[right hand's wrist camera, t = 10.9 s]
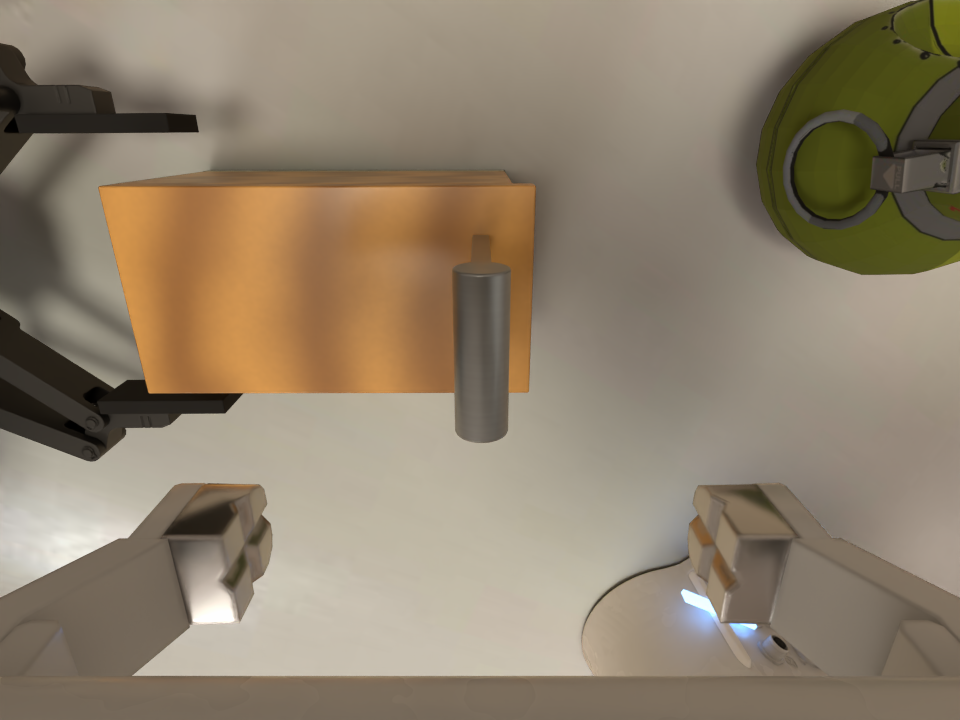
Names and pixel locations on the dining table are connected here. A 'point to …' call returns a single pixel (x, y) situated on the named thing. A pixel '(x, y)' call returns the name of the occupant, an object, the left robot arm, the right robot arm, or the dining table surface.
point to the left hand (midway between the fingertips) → (212, 271)
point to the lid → (331, 289)
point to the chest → (335, 177)
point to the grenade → (871, 145)
